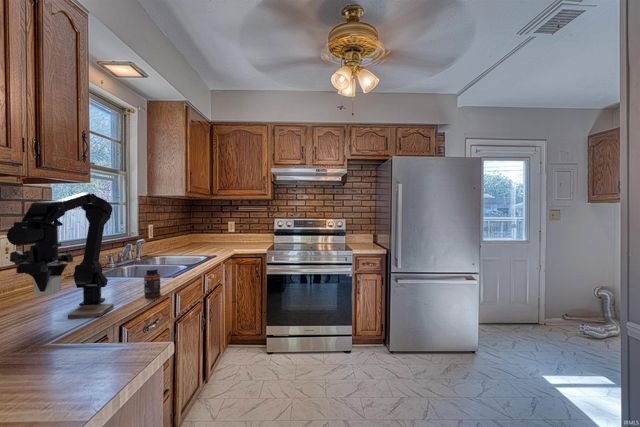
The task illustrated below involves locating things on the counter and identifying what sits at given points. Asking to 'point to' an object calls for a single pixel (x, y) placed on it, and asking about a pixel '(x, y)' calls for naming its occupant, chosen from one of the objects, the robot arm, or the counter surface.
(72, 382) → the counter surface
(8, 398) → the counter surface
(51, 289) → the cube
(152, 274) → the supplement bottle
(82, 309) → the brown square tile
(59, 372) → the counter surface
